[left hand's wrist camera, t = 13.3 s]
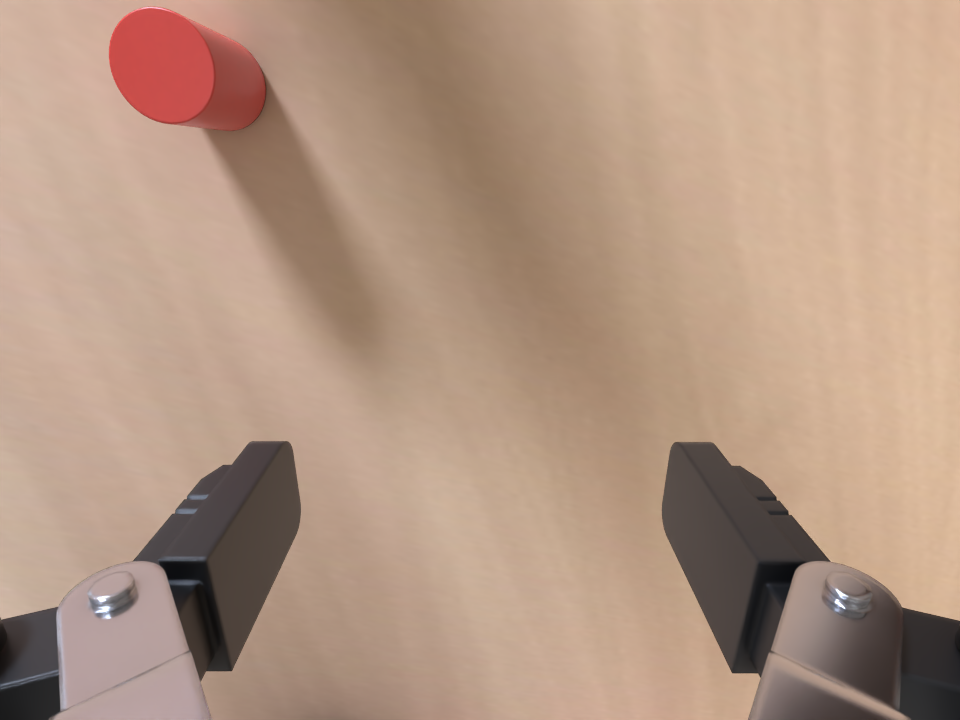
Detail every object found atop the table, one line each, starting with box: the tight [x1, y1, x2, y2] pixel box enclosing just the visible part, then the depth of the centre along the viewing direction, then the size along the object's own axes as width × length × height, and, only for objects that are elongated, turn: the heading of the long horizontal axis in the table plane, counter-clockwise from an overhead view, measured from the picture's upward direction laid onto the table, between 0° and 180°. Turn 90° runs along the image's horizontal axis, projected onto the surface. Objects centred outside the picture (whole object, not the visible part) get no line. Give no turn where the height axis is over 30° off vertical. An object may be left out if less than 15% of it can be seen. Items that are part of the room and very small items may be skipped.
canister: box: [109, 7, 266, 131], centre depth 21 cm, size 4×4×5 cm
